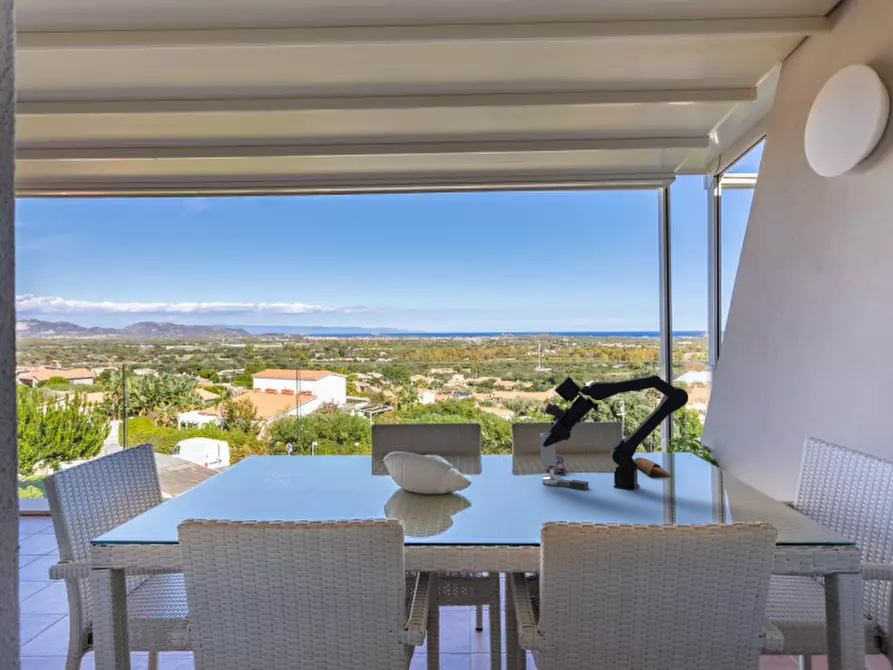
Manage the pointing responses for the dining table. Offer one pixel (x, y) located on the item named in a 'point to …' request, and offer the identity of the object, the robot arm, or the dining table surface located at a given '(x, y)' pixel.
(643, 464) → the sunglasses case
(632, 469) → the robot arm
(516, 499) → the dining table surface
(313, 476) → the dining table surface
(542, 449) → the socket
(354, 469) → the dining table surface
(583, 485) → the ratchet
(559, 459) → the skull
